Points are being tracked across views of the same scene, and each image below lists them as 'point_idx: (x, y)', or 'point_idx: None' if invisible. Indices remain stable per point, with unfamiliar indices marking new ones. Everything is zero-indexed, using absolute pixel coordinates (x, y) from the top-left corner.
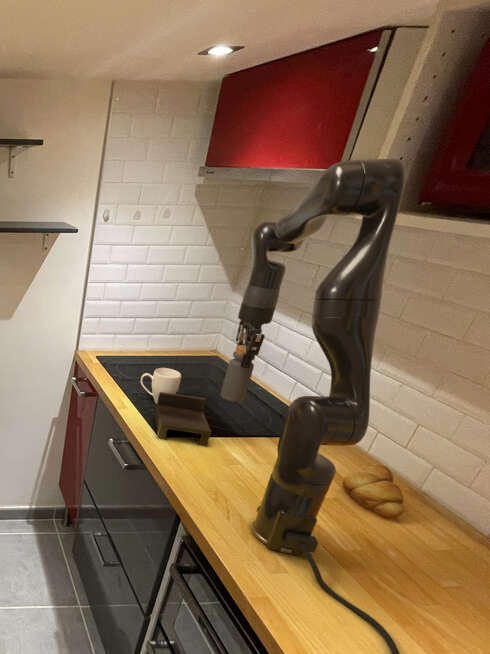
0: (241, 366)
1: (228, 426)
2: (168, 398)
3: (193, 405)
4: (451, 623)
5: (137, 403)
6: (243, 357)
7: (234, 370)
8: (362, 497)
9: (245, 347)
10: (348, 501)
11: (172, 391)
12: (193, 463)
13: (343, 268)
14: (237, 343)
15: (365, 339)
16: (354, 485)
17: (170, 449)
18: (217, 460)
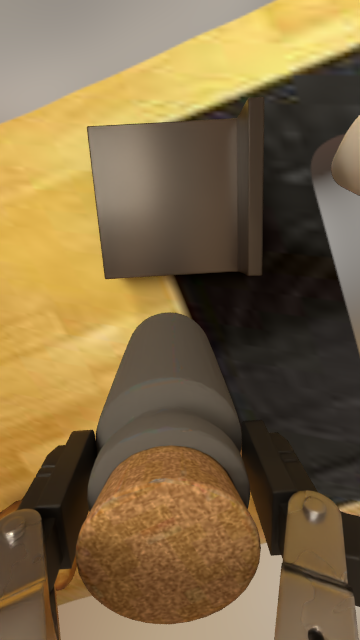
0: (73, 434)
1: (253, 339)
2: (244, 144)
3: (241, 239)
4: None
5: (327, 81)
6: (48, 483)
7: (113, 386)
8: (1, 514)
9: (3, 580)
10: (27, 488)
11: (349, 176)
12: (18, 231)
13: None
14: (304, 507)
15: None
16: None
17: (61, 176)
18: (62, 289)
